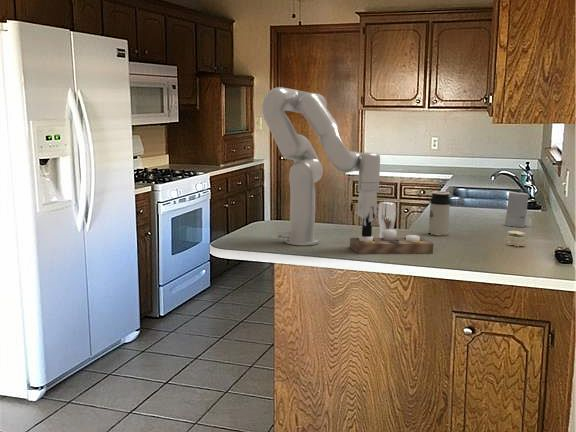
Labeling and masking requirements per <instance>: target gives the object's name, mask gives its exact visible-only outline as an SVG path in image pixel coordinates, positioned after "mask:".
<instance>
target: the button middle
mask: <svg viewBox="0 0 576 432" xmlns="http://www.w3.org/2000/svg"><path fill="white" fill-rule="evenodd" d="M397 234H398V231H397V229H394V228H393V229H384V230H383V241H396V238H398V237H397V236H398V235H397Z"/></svg>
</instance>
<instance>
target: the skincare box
mask: <svg viewBox="0 0 576 432" xmlns="http://www.w3.org/2000/svg"><path fill="white" fill-rule="evenodd" d="M529 195H530V194H529V193H524V192H515V191H510V192H508V200H507V208H506V217H505V224H504V225H505V226H506V227H515V228H524V227H525V226H526V220H527V219H526V217H527V211H528V210H527V209H528V203H529Z"/></svg>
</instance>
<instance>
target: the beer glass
mask: <svg viewBox="0 0 576 432" xmlns="http://www.w3.org/2000/svg"><path fill="white" fill-rule="evenodd" d="M378 204H379V205H378V210H377V211H378V212H377V213H378V214H377V216H378V227H379V234H378V238H383V230H384V229H393V230H394V227H395V223H396V219H397V202H391V201H381V202H378Z"/></svg>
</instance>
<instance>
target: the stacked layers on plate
mask: <svg viewBox="0 0 576 432" xmlns="http://www.w3.org/2000/svg"><path fill="white" fill-rule="evenodd" d="M507 233H509V234H506V235H507V239H506V242H507V244H512V245H515V246H524V247H525V244H526V242H525V240H526V239H527V238H526V236H525V234H527V233H525V232H524V231H520V230H519V231H518V230H509V231H507ZM525 238H526V239H525ZM515 246H514V247H515Z"/></svg>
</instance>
